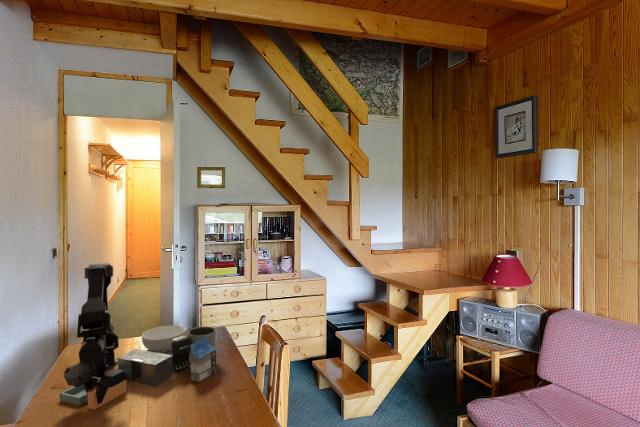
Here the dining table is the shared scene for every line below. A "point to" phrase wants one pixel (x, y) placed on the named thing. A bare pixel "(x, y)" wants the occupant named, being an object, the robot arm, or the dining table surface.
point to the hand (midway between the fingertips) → (96, 402)
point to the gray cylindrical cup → (202, 335)
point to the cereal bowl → (161, 337)
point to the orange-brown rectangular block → (106, 395)
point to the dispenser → (146, 367)
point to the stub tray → (74, 395)
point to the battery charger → (180, 353)
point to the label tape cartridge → (202, 360)
